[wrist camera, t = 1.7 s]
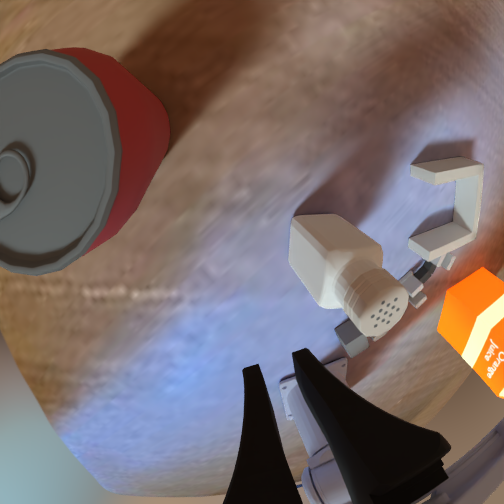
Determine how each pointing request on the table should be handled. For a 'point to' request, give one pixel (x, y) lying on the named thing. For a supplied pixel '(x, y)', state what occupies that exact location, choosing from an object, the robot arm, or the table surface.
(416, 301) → the clips
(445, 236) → the end holder
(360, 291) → the pepper shaker
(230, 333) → the table surface
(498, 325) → the orange juice
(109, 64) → the beer can
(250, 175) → the table surface
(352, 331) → the cable route
